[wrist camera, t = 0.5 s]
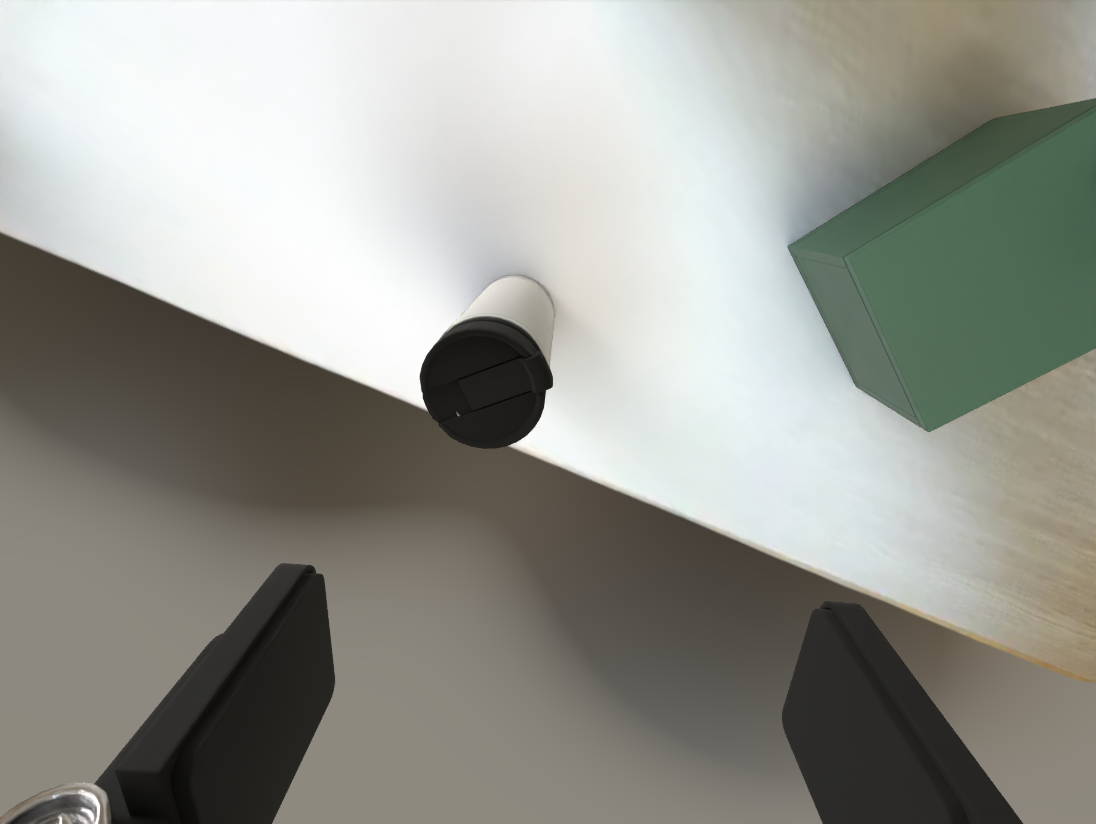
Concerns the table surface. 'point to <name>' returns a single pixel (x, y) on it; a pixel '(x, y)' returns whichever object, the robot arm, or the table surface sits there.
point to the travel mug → (493, 365)
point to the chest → (887, 209)
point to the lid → (990, 278)
